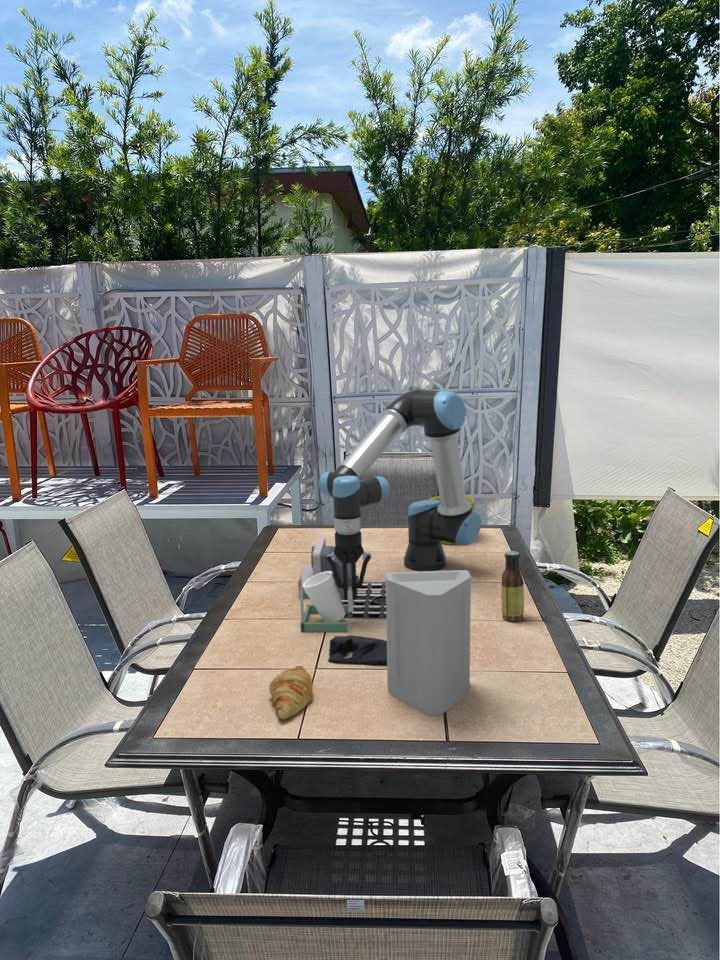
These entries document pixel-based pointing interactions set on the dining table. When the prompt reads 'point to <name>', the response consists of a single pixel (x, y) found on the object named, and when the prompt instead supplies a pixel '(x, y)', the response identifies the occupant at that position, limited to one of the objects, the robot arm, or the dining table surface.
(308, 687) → the croissant
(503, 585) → the sauce bottle
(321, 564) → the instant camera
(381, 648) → the crumpled black cloth
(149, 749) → the dining table surface
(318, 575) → the foam cup
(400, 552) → the dining table surface
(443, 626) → the grey triangular prism
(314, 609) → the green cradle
